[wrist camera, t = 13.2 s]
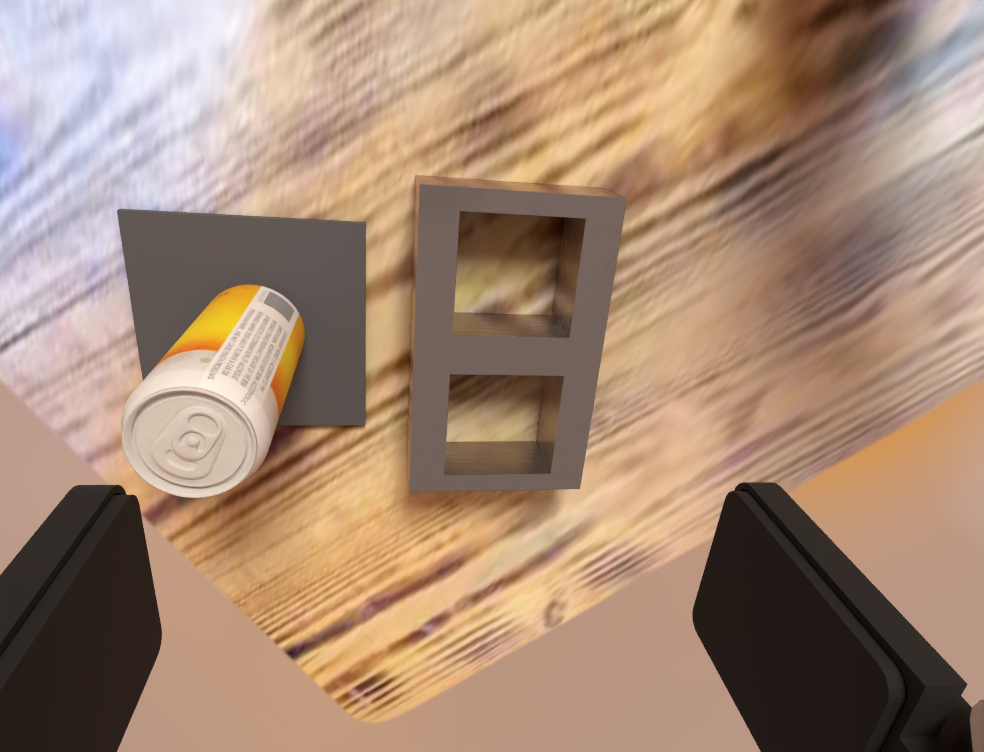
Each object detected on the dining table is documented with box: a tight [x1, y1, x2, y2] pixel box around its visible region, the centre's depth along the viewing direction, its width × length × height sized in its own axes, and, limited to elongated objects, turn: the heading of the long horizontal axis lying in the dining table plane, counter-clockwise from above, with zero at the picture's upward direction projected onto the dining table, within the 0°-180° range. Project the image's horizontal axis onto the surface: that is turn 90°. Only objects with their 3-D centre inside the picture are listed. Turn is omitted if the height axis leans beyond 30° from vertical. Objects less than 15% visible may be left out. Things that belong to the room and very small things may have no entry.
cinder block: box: [407, 175, 627, 492], centre depth 41 cm, size 20×12×4 cm, turn 175°
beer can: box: [121, 285, 305, 498], centre depth 33 cm, size 6×6×15 cm
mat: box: [117, 209, 366, 425], centre depth 40 cm, size 14×14×1 cm
